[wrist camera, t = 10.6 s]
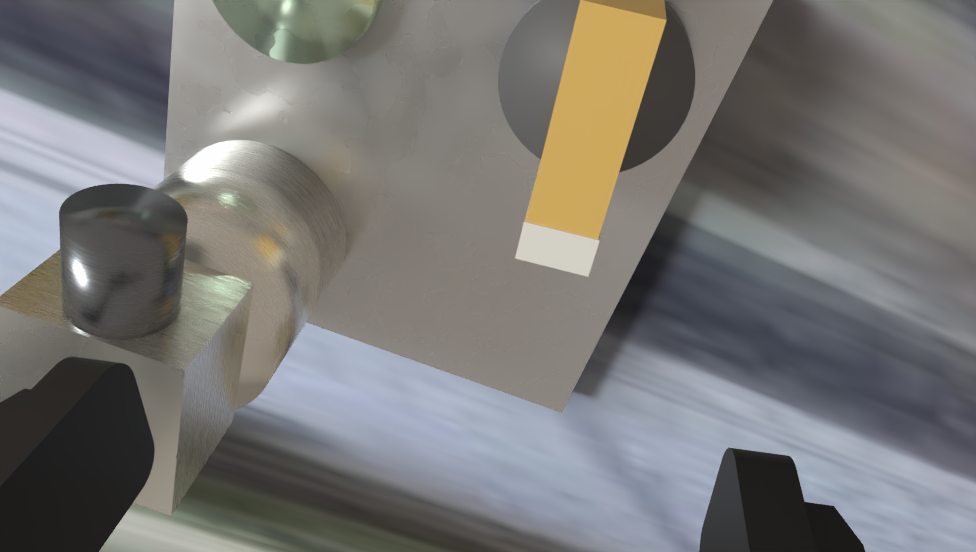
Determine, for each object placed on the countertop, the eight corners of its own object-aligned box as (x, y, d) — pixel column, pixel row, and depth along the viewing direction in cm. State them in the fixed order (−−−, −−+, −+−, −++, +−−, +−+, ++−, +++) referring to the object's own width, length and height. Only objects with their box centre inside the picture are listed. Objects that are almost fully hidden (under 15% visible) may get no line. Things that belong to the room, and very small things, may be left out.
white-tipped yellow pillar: (527, -63, 22) (494, -20, 17) (727, -16, 22) (754, 41, 17) (484, 155, 26) (447, 241, 21) (653, 196, 26) (657, 294, 21)
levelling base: (564, 389, 33) (530, 660, 23) (176, 251, 33) (-39, 464, 22) (768, -17, 23) (873, 138, 13) (212, -223, 23) (-149, -237, 12)
